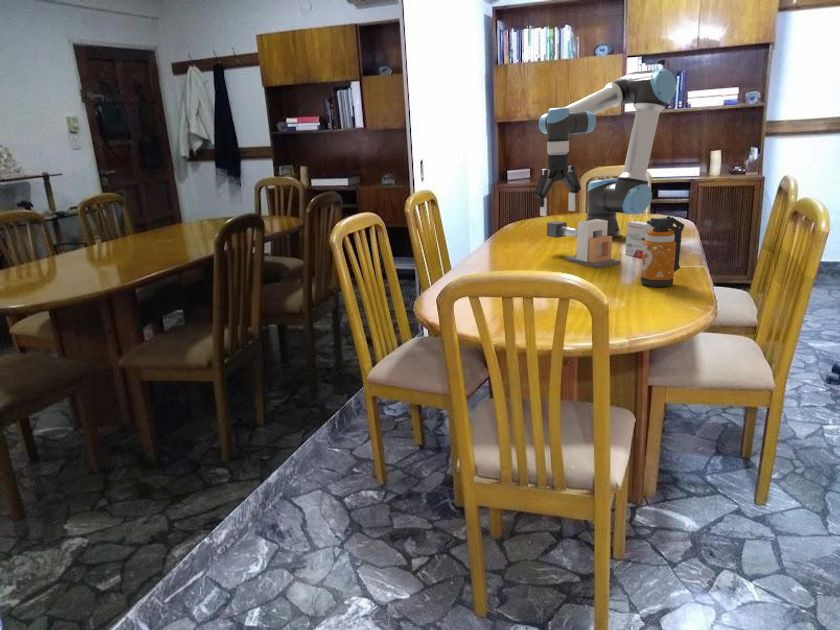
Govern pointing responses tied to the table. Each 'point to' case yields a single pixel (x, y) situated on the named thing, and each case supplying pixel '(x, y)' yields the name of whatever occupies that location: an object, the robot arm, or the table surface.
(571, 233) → the shaft
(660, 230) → the canister
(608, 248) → the plate
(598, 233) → the bearing block
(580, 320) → the table surface
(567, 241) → the table surface
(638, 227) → the ink box
